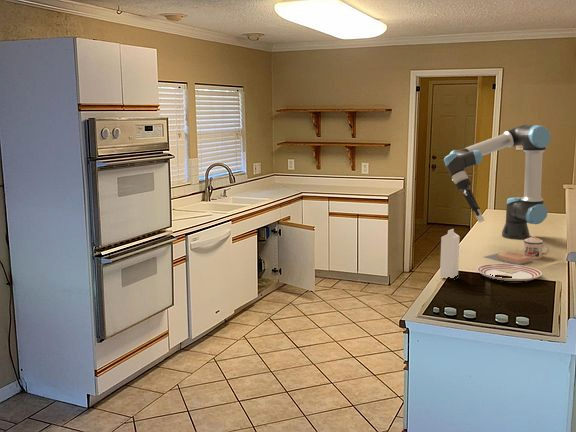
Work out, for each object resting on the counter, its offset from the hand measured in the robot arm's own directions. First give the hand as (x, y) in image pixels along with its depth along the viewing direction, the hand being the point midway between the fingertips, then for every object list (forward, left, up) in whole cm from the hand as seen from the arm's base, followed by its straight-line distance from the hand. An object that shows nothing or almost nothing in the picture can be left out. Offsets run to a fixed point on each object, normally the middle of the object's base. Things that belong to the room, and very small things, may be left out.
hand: (481, 221), depth 303 cm
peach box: (+11, +12, -15) cm, 22 cm away
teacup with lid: (+2, +27, -17) cm, 32 cm away
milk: (+52, -7, -17) cm, 55 cm away
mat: (+12, +14, -17) cm, 25 cm away
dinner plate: (+40, +17, -17) cm, 47 cm away
